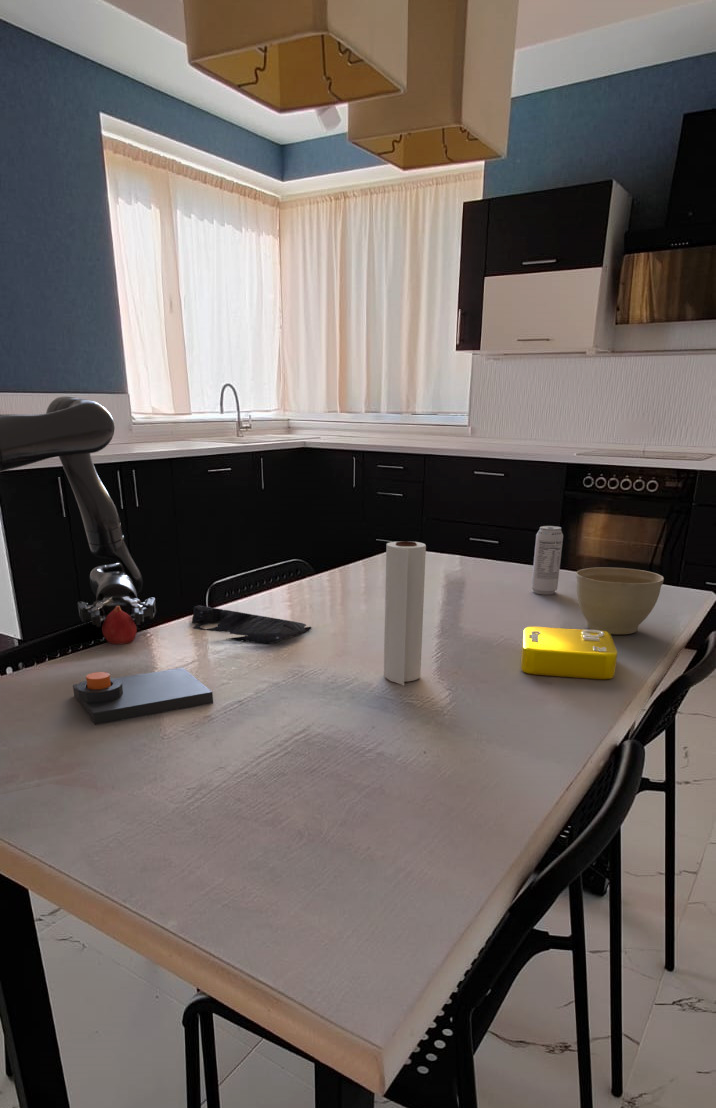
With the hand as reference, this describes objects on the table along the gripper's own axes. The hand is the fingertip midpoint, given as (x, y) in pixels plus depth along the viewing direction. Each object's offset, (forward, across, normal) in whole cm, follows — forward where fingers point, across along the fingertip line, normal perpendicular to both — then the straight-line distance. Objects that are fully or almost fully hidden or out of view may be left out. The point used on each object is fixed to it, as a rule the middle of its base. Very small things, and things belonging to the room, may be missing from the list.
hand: (118, 620), depth 133 cm
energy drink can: (-24, +97, +6) cm, 100 cm away
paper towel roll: (+25, +43, +6) cm, 50 cm away
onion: (-2, 0, +6) cm, 7 cm away
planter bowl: (+8, +93, +6) cm, 94 cm away
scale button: (+26, -3, +3) cm, 27 cm away
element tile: (+26, +73, +6) cm, 77 cm away
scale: (+25, +3, +6) cm, 26 cm away
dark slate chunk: (-7, +24, +6) cm, 25 cm away
